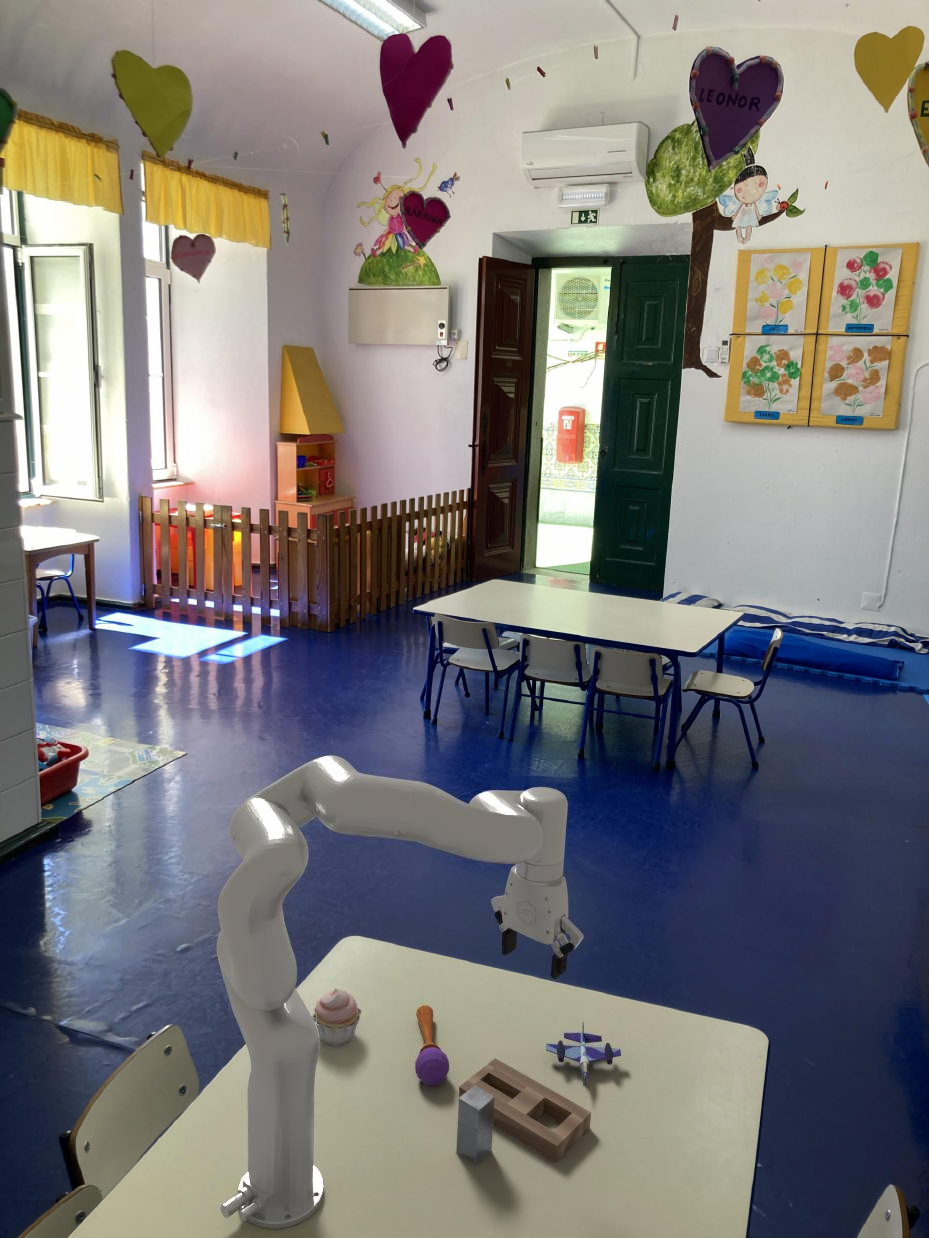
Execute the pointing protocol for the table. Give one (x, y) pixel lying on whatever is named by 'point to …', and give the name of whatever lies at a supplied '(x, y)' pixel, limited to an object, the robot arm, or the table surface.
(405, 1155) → the table surface
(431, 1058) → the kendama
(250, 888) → the robot arm
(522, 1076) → the socket block
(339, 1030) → the cupcake
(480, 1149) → the square peg
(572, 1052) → the toy airplane
